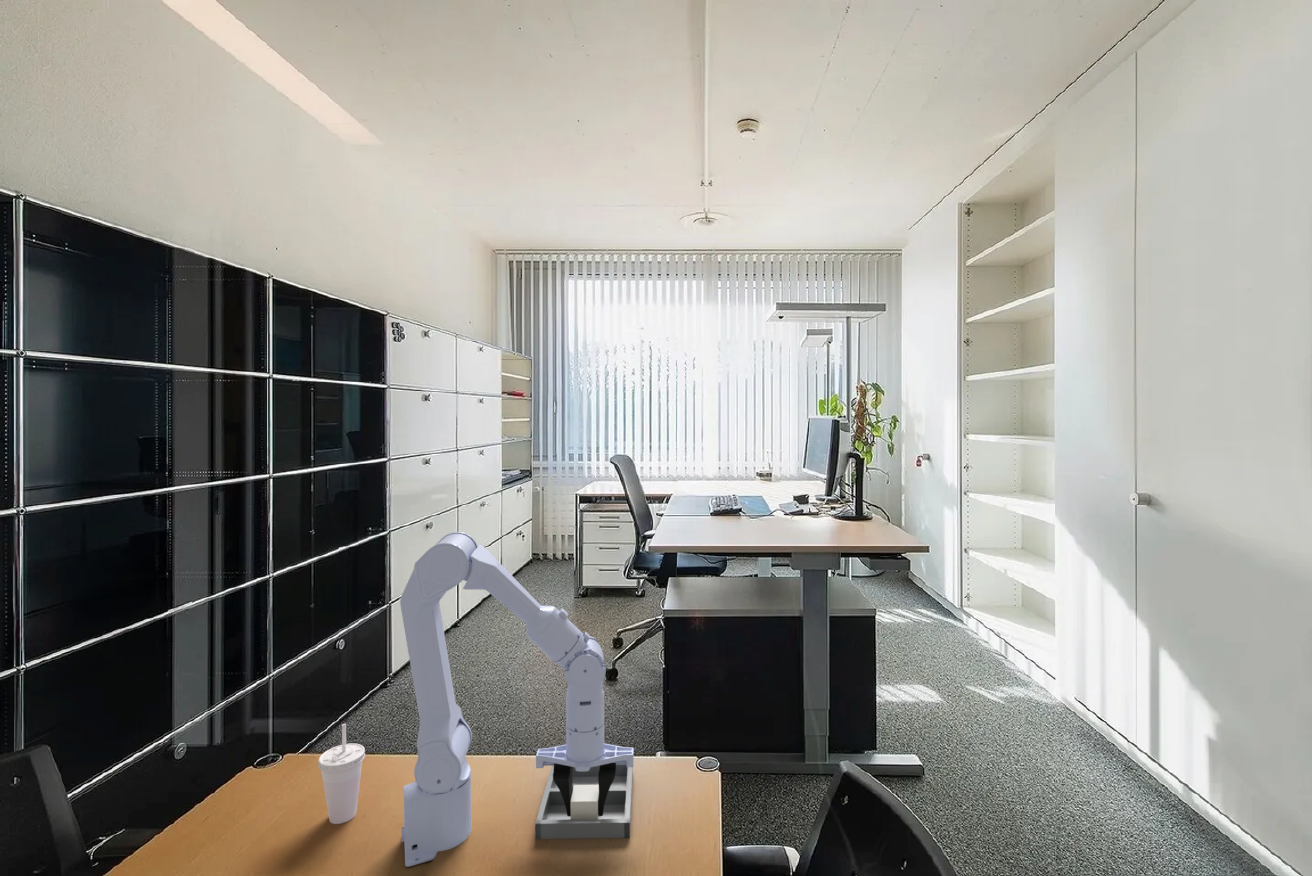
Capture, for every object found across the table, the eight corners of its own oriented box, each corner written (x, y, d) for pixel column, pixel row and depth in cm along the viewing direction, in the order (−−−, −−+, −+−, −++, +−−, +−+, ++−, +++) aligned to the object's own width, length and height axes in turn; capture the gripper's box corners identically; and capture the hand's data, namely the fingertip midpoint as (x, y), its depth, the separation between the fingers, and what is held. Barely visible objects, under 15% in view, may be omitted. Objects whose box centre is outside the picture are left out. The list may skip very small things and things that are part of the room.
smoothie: (374, 803, 93) (373, 717, 92) (349, 831, 86) (348, 738, 86) (336, 801, 93) (335, 715, 93) (309, 829, 87) (307, 736, 87)
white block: (570, 828, 86) (570, 801, 86) (574, 810, 90) (574, 785, 90) (597, 828, 86) (597, 801, 86) (600, 810, 90) (599, 784, 90)
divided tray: (535, 844, 83) (535, 823, 83) (553, 778, 99) (553, 761, 99) (629, 843, 84) (629, 822, 84) (632, 777, 99) (632, 760, 99)
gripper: (531, 737, 83) (532, 831, 84) (632, 736, 83) (633, 829, 84) (540, 713, 90) (541, 799, 91) (633, 712, 90) (634, 798, 91)
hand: (585, 812), depth 88 cm, fingers closed on white block, 4 cm apart
